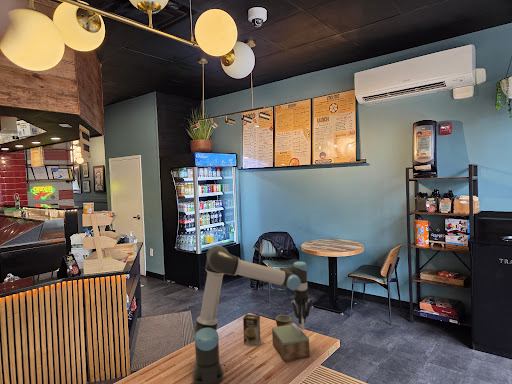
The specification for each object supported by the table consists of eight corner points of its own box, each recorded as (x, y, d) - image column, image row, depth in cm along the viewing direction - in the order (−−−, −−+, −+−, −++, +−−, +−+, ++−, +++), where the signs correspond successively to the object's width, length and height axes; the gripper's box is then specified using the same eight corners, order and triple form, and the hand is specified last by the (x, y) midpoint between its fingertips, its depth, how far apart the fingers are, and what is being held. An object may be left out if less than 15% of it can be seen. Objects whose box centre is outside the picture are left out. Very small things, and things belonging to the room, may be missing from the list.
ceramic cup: (294, 335, 208) (294, 319, 207) (280, 338, 204) (279, 322, 204) (285, 326, 220) (284, 312, 219) (271, 329, 216) (271, 315, 216)
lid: (283, 345, 177) (283, 337, 177) (272, 329, 197) (271, 322, 197) (309, 340, 181) (308, 333, 181) (295, 325, 201) (295, 318, 200)
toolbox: (284, 362, 178) (283, 345, 177) (272, 344, 197) (272, 329, 197) (309, 357, 182) (309, 341, 181) (296, 340, 201) (295, 326, 201)
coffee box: (243, 344, 199) (242, 318, 198) (247, 339, 205) (246, 313, 204) (258, 345, 196) (257, 319, 196) (261, 340, 202) (260, 314, 202)
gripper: (308, 285, 195) (309, 324, 196) (288, 288, 192) (289, 327, 193) (314, 289, 188) (315, 330, 189) (292, 292, 185) (294, 333, 186)
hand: (302, 328), depth 191 cm, fingers closed
